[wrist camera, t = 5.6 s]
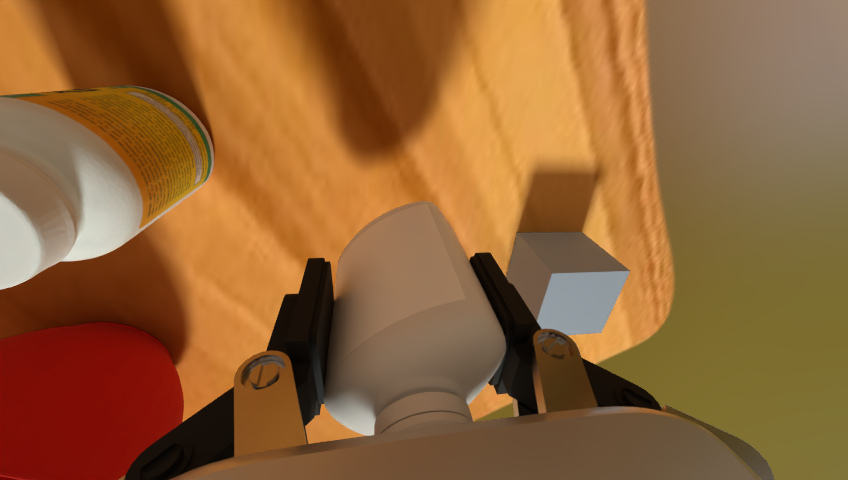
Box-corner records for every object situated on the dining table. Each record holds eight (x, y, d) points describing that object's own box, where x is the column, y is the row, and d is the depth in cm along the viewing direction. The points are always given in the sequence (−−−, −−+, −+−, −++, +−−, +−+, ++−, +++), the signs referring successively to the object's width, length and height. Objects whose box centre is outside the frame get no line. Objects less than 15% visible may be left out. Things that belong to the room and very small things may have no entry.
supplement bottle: (175, 211, 18) (4, 342, 9) (68, 132, 15) (-297, 218, 7) (241, 151, 17) (116, 240, 8) (139, 57, 14) (-186, 49, 6)
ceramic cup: (-118, 225, 16) (-700, 420, 7) (241, 316, 22) (157, 482, 13) (-88, 385, 21) (-416, 618, 12) (200, 424, 27) (119, 597, 18)
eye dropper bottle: (325, 210, 14) (216, 650, 4) (449, 194, 14) (655, 534, 4) (345, 287, 16) (312, 689, 6) (451, 270, 17) (588, 610, 6)
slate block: (516, 232, 22) (552, 273, 18) (581, 231, 23) (630, 271, 18) (502, 288, 24) (531, 337, 20) (561, 286, 25) (601, 332, 21)
